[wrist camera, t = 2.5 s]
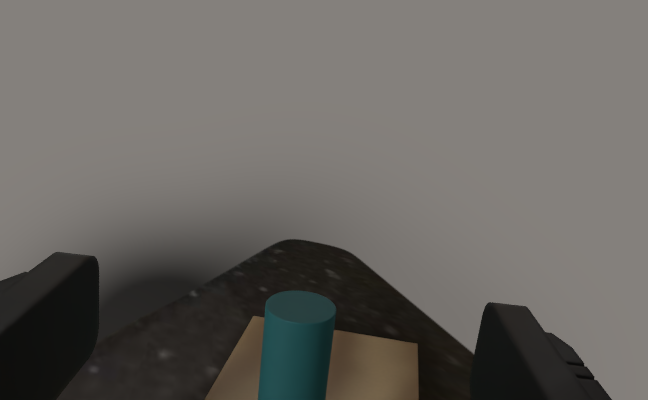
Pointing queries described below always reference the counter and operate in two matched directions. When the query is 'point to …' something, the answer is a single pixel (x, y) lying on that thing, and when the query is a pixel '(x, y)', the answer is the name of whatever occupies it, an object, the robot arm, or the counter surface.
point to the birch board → (330, 368)
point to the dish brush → (296, 346)
